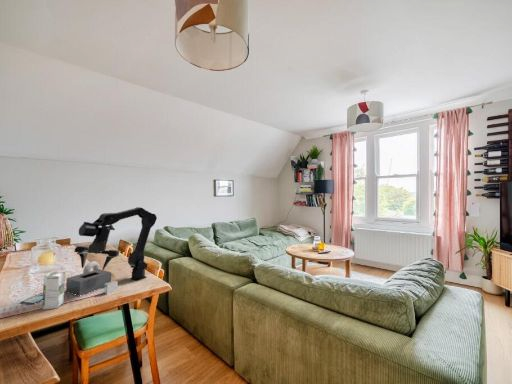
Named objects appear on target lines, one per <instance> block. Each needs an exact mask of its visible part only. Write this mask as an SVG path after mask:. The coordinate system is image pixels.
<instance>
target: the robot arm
mask: <svg viewBox="0 0 512 384" xmlns="http://www.w3.org/2000/svg"><path fill="white" fill-rule="evenodd" d="M135 216H138V217H139V218H140V219H141V230H140V232H139V235H138V238H137V242H136V244H135V248H134V250H133V251H132V252H129V255H128V258H127V263H128V265H129V266H130V268H131V269H132V271H131V277H130V278H129V279H130V280H134V281H141V280H143V279H146V278H147V276H146V275H145V274H146V273H145V272H146V269H147V267H148V263H146V262H145V253H144V251H145V247H146V244H147V242H148V238H149V235H150V231H151V229H152V227H153V226H154V225H155V223H156V221H157V219H158V218H157V215H156V213H152V212H150V211H148V210H146V209H145V208H143V207H138V206H137V207H135V208H130V209H127V210H122V211H119V212H104V213H101V214H100V215H99V217H98V218H97V219H96V220H94V222H88V221H83V224H81V226H79V229H78V235H79V236H81V237H90V238H92V237H94V239H93V241H92V243H91V244H89V245H88V246H86V245H78V246H76V247H75V248H74V251H73V252H74V253H76V255H79V257H80V263H81V268H82V269H84V268H85V266H86V265H85V264H86V261H87V256H88V254H92V253H93V254H95V255H97V254H98V255H99V254H101V255H102V254H103V255H107V256H106V258H105V261H104V263H103V267H102V269H101V270H104V271H105V268H106V267H107V265H108V264H109V263H110V262H111V260H112V259H114V258H115V257H116V258H117V257H119V254H120V250H116V249H109V250H106V249H107V243H108V241H109V237H110V233H111V231H115V230H116V228H114V226H113V225H114V224H116V223H118V222H119V221H122V220H124V219H127V218H128V219H129V218H131V217H132V218H133V217H135Z"/></svg>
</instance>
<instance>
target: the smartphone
mask: <svg viewBox="0 0 512 384" xmlns="http://www.w3.org/2000/svg"><path fill="white" fill-rule="evenodd" d="M42 300H43V292H40V293H38V294H36V295H34V296H31V297H29V298H27V299H24V300H22V301H20V302H19V304H21V305H30V306H33V305H36V304H38V303H40V302H42ZM35 303H36V304H35ZM32 304H33V305H32Z"/></svg>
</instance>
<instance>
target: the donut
mask: <svg viewBox="0 0 512 384" xmlns="http://www.w3.org/2000/svg"><path fill="white" fill-rule="evenodd" d="M100 268H101V267H100V264H99V263H98V262H97V261H94V260H93V261H90V262H88V263H87V264H86V265H84V267H83V270H82V271H83V272H82V274H83V273H87V272H90V271H94V270H97V269H100ZM100 270H101V269H100Z"/></svg>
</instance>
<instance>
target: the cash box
mask: <svg viewBox="0 0 512 384" xmlns="http://www.w3.org/2000/svg"><path fill="white" fill-rule="evenodd" d="M65 280H66V281H65V282H66V283H65V284H66V287H65V292H66V293H68V292H69V293H68V294H71V293H73V294H72V295H74V294H76V295H75V296H77V295H79V296H78V297H81V296H80V295H82V296H84V295H83V294H85V295H87V294H89V292H90V293H92V292H91V291H93V292H95V291H94V290H96V291H98V290H97V289H99V288H101V289H103V288H102V287H104V284H106V283H109V282H111V281H112V272H110V271H108V270H105V269H104V270H102V269H97V270H94V271H93V270H90V272H87V273H83V272H82V273H80V274H77V275H73V276H69V277H66V279H65ZM99 290H100V289H99ZM86 293H87V294H86Z"/></svg>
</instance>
